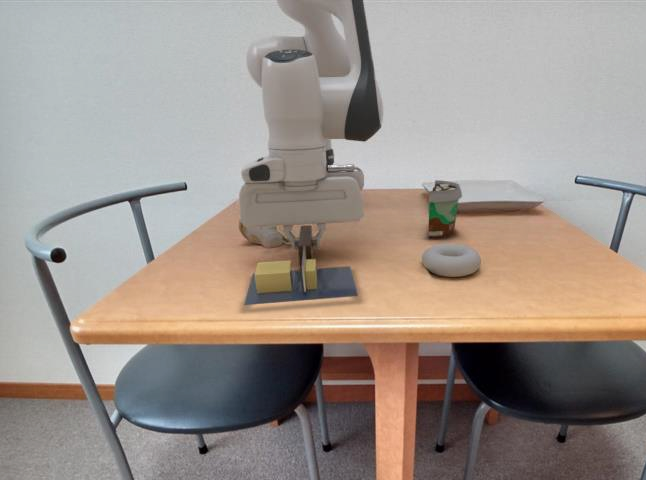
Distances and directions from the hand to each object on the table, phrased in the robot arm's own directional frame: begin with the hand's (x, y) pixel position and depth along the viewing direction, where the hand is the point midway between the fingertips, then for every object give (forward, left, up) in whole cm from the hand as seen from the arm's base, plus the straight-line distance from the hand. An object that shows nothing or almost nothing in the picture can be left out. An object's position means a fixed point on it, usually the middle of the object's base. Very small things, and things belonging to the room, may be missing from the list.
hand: (306, 248), depth 75 cm
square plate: (-38, +45, -3) cm, 59 cm away
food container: (-13, +29, -3) cm, 32 cm away
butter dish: (+11, -1, -3) cm, 11 cm away
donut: (+7, +24, -3) cm, 25 cm away
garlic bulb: (-12, -8, -3) cm, 15 cm away
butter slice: (+11, +1, -2) cm, 11 cm away
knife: (+5, 0, -2) cm, 5 cm away
